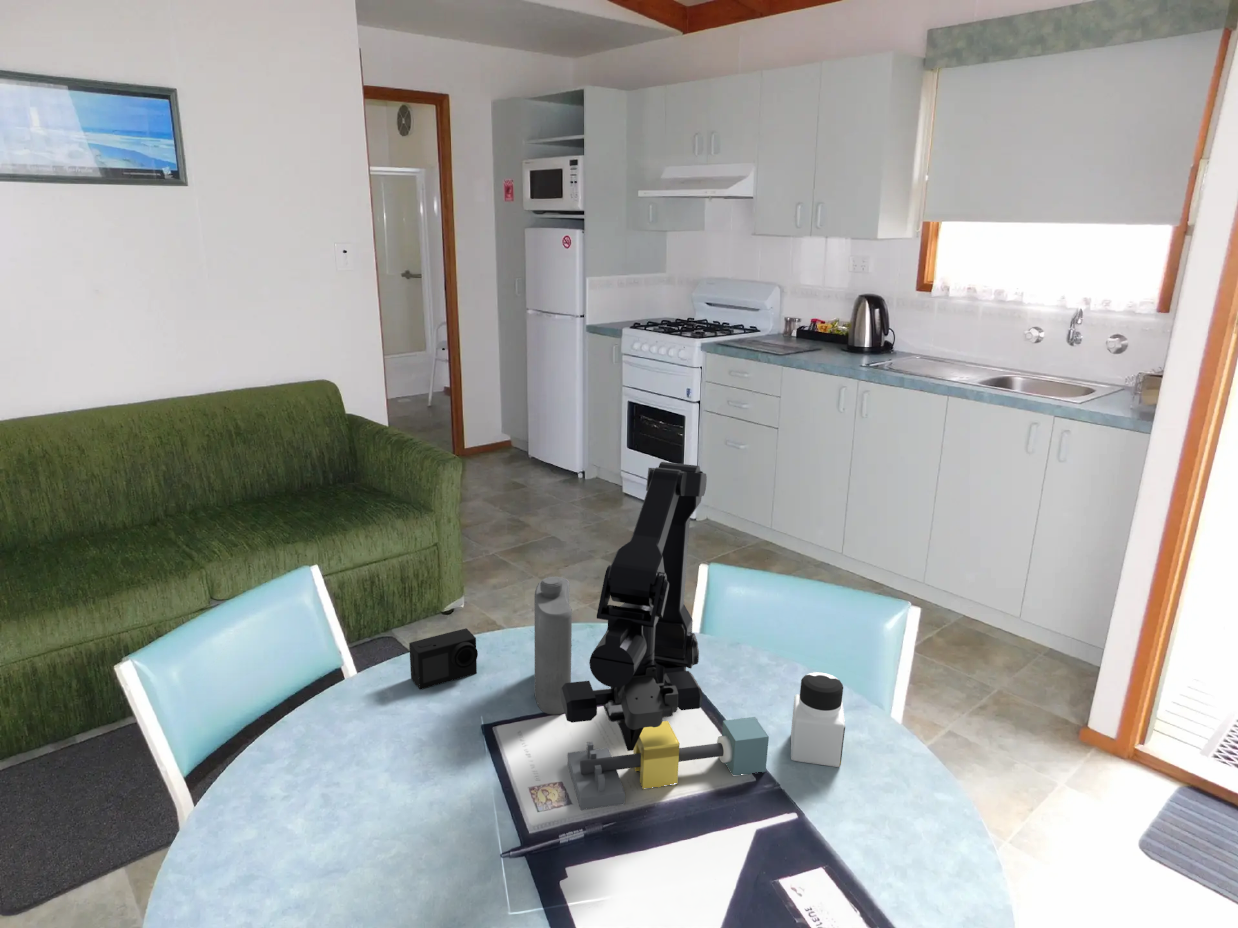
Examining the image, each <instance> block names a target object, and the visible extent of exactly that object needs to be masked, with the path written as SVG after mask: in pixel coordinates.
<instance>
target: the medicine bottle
mask: <svg viewBox="0 0 1238 928" xmlns="http://www.w3.org/2000/svg"><path fill="white" fill-rule="evenodd" d="M843 693H844V686H843V683H842V682H841V680H840V679H838V678H837V676H835V675H832V674H829V673H826V672H825V673H824V672H818V671H817V672H810V673H807V674H805V675H804V676H802V678H801V679H800V690H799V694H798V693H796V694H795V695H794V699H793V700H794V701H793V709H792V716H791V717H792V719H791V729H790V758H791V761H793V762H799V763H806V764H814V765H820V766H821V765H822V766H827V767H834V768H840V767H841V765H842V758H843V747H844V742H845V741H844V739H845V732H846V731H845V730H846V721H845V710H844V703H843V702H844V701H843Z"/></svg>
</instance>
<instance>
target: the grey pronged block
mask: <svg viewBox="0 0 1238 928" xmlns="http://www.w3.org/2000/svg"><path fill="white" fill-rule="evenodd" d="M594 745H595V744H594V742H593V741H587V742H586V750H579V751H572V752H567V767H568V770H569V774H570V777H571V781H572V784H573V788H574V791H575V795H576V798H577V802H578V805H579V809H580V811H585V810H591V809H598V808H599V809H600V808H605V807H612V806H620V805H625V804H626V800H625V799H626V791H625V789H624V786H623V783H622V781H621V777H620V774H619V773H618V770H612V771H605V772H602V768H601V765H596V766H595V773H589V774H581V770H580V761H582V760H590V759H597V758H605V757H613V756H612V754H611V751H610V748H609V747H603V748H595V749H594V747H595V746H594Z"/></svg>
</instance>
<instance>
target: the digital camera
mask: <svg viewBox="0 0 1238 928" xmlns="http://www.w3.org/2000/svg"><path fill="white" fill-rule="evenodd" d="M408 644H409V645H408V646H409V647H408V648H409V663H410V665H409V666H410V679H411V681H413V683H414V685H415V686H416V687H417V688H418V689H419V690H420V691H421V690H424V689H427V688H430V687H431V688H432V687H434V686H437V685H441V684H444V683H449V682H452V681H456V680H459V679H462V678H466V677H470V676H472V675H477V673H478V672H477V671H478V666H477V665H478V663H477V662H478V661H477V659H478V657H479V654H478V653H479V651H478V649H477V637H476V636H475V635H474V634H473V633H472V632H471V631H470V629H468V628H462V629H458V630H454V631H450V632H445V633H443V634H442V633H441V634H438V635H434V636H430V637H426V638H422V639H418V640H415V641H411V642H409V643H408Z"/></svg>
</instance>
